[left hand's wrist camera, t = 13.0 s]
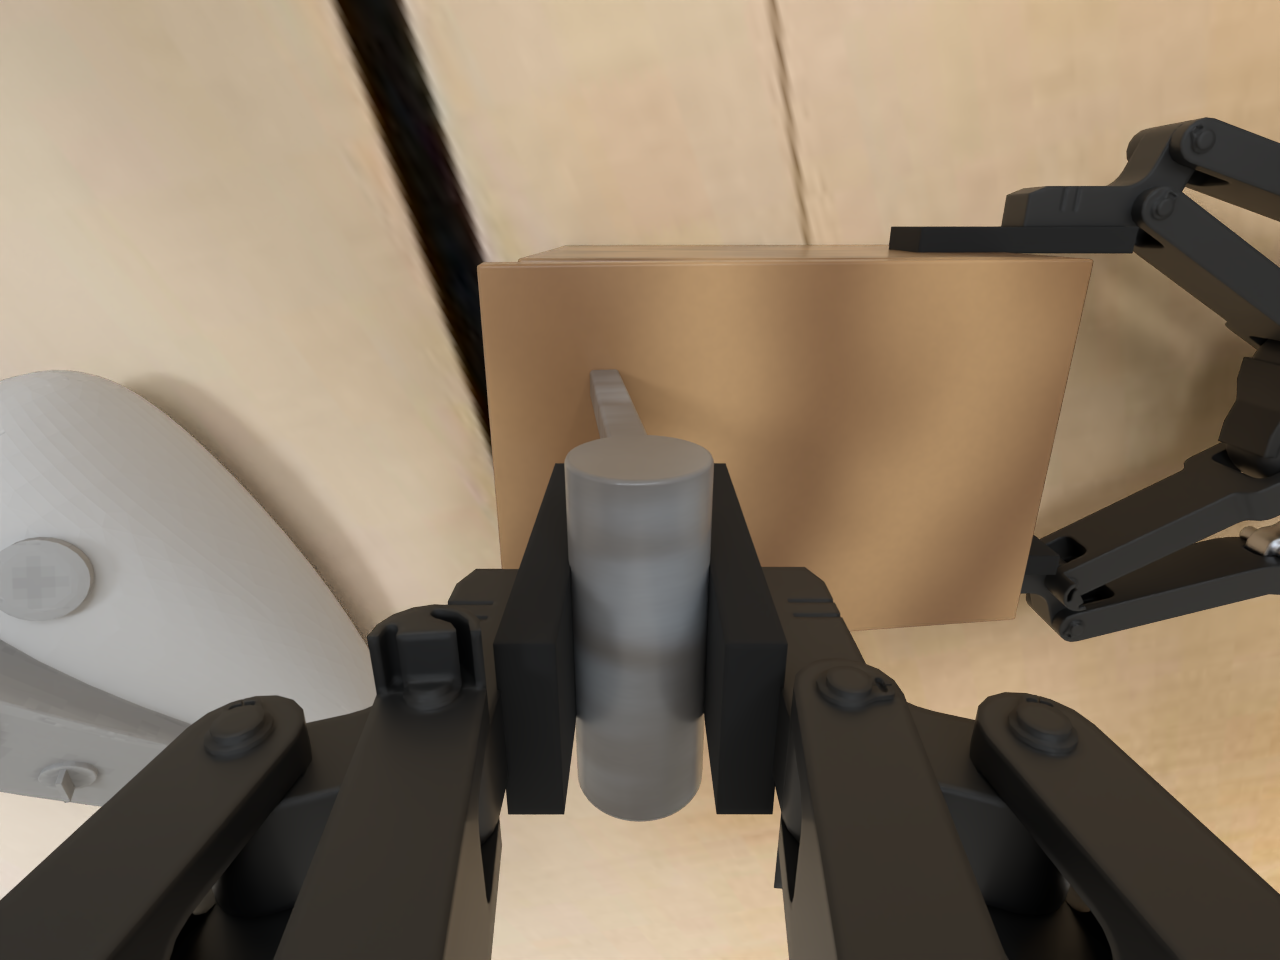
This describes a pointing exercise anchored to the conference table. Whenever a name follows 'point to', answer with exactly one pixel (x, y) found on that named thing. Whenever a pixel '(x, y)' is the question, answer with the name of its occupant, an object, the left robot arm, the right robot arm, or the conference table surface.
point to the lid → (766, 457)
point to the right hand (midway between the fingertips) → (882, 406)
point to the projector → (141, 592)
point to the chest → (746, 253)
